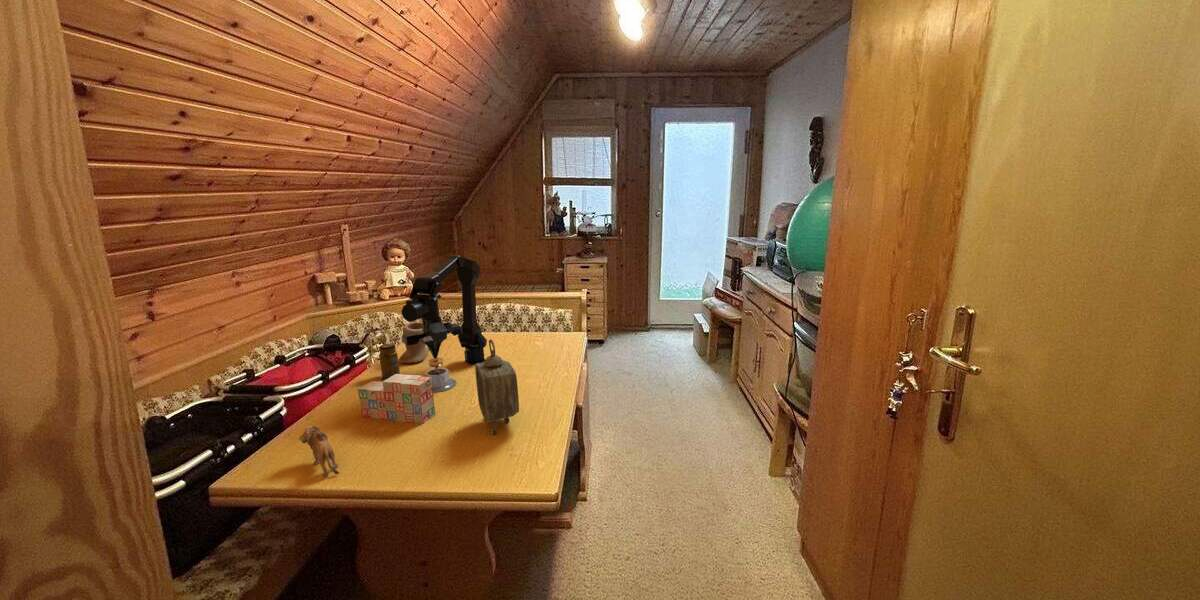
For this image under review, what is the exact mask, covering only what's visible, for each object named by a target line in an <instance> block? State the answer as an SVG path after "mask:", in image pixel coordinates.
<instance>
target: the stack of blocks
mask: <svg viewBox="0 0 1200 600" xmlns="http://www.w3.org/2000/svg"><path fill="white" fill-rule="evenodd" d="M357 393H358V398H359V404H360V408H361V416H362V417H363V418H371V419H376V418H377V419H376V420H378V419H379V420H384V419H387V420H386V421H394V420H397V422H403V421H404V423H412V424H419V425H420V424H421V425H423V424H425V423H427V422H428V421H429V420H430V419H432V417H434V416H436V407H435V400H434V393H433V387H432V378H431V377H424V375H416V374H413V375H412V374H402V373H401V374H395V375H393V376H391V377H390V378H388V379H387V380H385V381H378V380H377V381H375V380H373V381H370V382H368V383H366V384H365V385H363V386H361V387H359V388H357Z"/></svg>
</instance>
